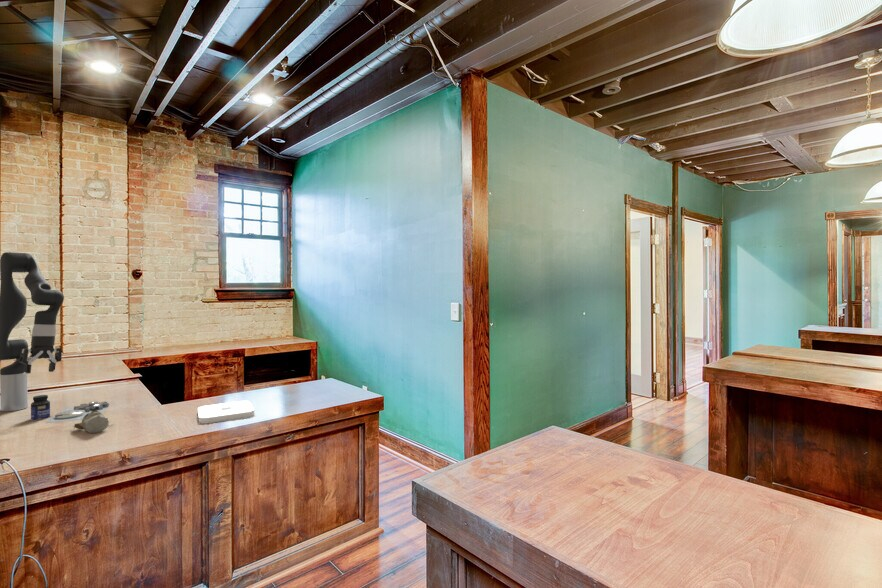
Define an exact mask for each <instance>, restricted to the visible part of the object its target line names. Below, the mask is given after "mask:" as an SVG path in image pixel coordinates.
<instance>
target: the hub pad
mask: <svg viewBox="0 0 882 588" xmlns="http://www.w3.org/2000/svg"><path fill="white" fill-rule="evenodd" d="M60 412H61V411H60ZM60 412H57V413H56V414H54V416H55V418H56V419H68V418H74V417H79V416H82V415H84V414H85V410H70V411H65V412H61V413H60Z"/></svg>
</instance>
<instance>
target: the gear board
mask: <svg viewBox="0 0 882 588" xmlns="http://www.w3.org/2000/svg"><path fill="white" fill-rule="evenodd" d="M109 406H110V403H109ZM107 408H108V407H103V409H100V410H97V411H99V412H100V413H101V414H102V413H103V411H105V410H106V409H107ZM70 410H74V407H68V408H66V407H65V408H63V409H62V410H61V411H60V412H59V413H61V412H65V411H70ZM91 411H92V410H91ZM91 411H89V412H85V414H84V415H82V416H79V417H74V418H68V419H56V418H55V415H54V416H52V417H50V419H48V421H46V422H45V424H50V423H58V422H66V421H67V422H68V421H75V420H78V421H79V420H83V418H84V416H85V415H86V414H88V413H90V412H91Z"/></svg>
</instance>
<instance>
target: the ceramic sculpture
mask: <svg viewBox="0 0 882 588" xmlns="http://www.w3.org/2000/svg"><path fill="white" fill-rule="evenodd" d="M109 423H110V422H109V420H108V417H106V416H105V415H104V414H103V413H102V412H101V413H100V412H99V411H97V410H92V411H91V412H90V413H88V414H86V415H85V416H84V418H83V419H81V422H79V423H78V422H77V423H74V428H76V429H77V430H86V431H87V432H88V433H90V434H97V433H101V432H103V431H105V430H106V429H107V427H108V426H109Z"/></svg>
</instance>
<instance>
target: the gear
mask: <svg viewBox="0 0 882 588" xmlns="http://www.w3.org/2000/svg"><path fill="white" fill-rule="evenodd" d="M109 404H110V403H109V402H108V401H101V402H98V401H90V402H88V403H81V404H79V405H75V406H73V408H74V410H85V412H89V411H91V410H100V409H103V407H107V408H108V407H109V406H110V405H109Z"/></svg>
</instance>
